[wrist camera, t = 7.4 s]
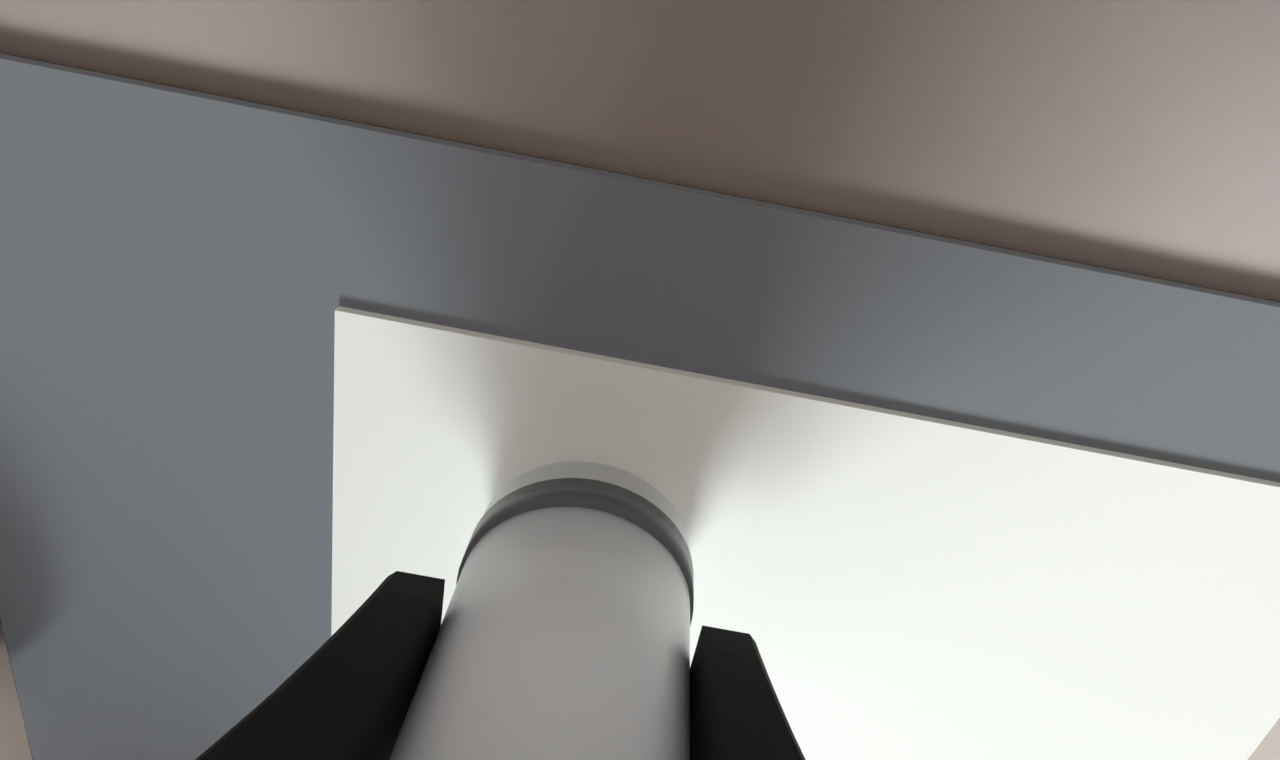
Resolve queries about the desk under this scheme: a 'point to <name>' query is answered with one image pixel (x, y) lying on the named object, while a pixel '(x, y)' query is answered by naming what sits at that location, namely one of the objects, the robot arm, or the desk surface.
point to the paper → (848, 546)
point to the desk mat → (460, 298)
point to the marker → (563, 628)
